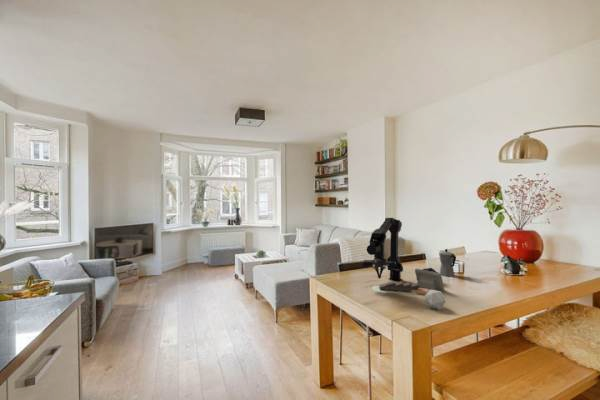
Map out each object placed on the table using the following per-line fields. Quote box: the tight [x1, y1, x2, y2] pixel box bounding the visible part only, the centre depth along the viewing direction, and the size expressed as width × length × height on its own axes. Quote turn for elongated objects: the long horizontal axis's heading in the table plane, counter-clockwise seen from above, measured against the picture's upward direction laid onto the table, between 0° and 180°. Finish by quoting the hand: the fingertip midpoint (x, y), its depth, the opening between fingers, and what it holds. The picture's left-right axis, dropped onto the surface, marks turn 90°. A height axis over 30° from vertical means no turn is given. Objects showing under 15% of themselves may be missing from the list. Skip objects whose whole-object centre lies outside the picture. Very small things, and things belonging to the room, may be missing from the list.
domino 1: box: [378, 280, 396, 290], centre depth 160 cm, size 2×5×9 cm
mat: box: [371, 285, 417, 296], centre depth 159 cm, size 24×10×1 cm, turn 71°
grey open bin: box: [421, 267, 439, 273], centre depth 176 cm, size 13×14×10 cm
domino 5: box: [411, 288, 429, 295], centre depth 155 cm, size 2×5×9 cm
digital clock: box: [414, 268, 445, 292], centre depth 162 cm, size 16×9×11 cm, turn 24°
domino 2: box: [387, 280, 404, 291], centre depth 159 cm, size 2×5×9 cm
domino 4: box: [403, 282, 420, 292], centre depth 156 cm, size 2×5×9 cm
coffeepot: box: [438, 248, 457, 278], centre depth 189 cm, size 15×9×18 cm, turn 9°
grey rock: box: [423, 289, 446, 310], centre depth 134 cm, size 8×9×10 cm
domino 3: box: [395, 281, 412, 291], centre depth 158 cm, size 2×5×9 cm
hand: (379, 278), depth 162 cm, fingers closed
